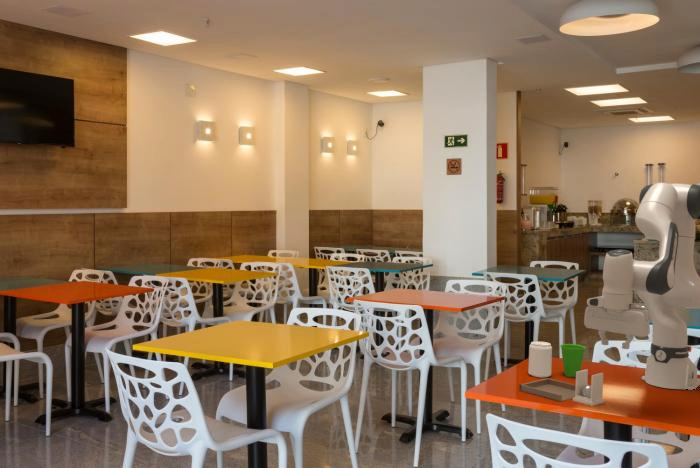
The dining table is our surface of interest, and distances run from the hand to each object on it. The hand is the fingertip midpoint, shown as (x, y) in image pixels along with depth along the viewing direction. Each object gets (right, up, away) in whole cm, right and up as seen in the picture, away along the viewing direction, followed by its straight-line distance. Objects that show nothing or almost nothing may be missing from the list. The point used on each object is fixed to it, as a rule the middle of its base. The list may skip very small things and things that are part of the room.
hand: (615, 346), depth 211 cm
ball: (-6, -16, +7) cm, 18 cm away
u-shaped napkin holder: (-6, -19, +7) cm, 21 cm away
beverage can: (-12, -18, +41) cm, 46 cm away
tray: (-14, -18, +17) cm, 29 cm away
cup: (0, -18, +41) cm, 45 cm away
